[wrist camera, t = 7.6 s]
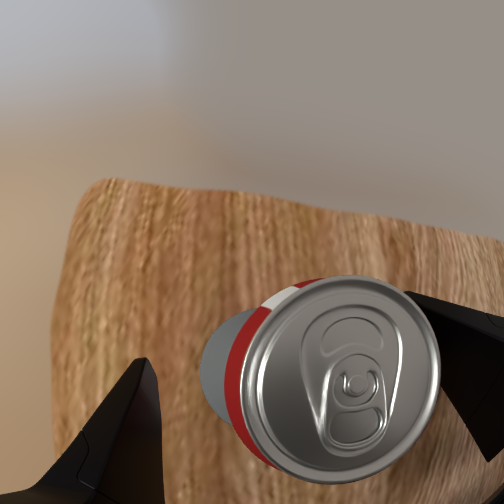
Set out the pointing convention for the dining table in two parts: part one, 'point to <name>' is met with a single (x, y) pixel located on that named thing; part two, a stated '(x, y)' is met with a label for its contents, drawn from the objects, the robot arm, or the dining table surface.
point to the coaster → (220, 362)
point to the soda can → (333, 378)
